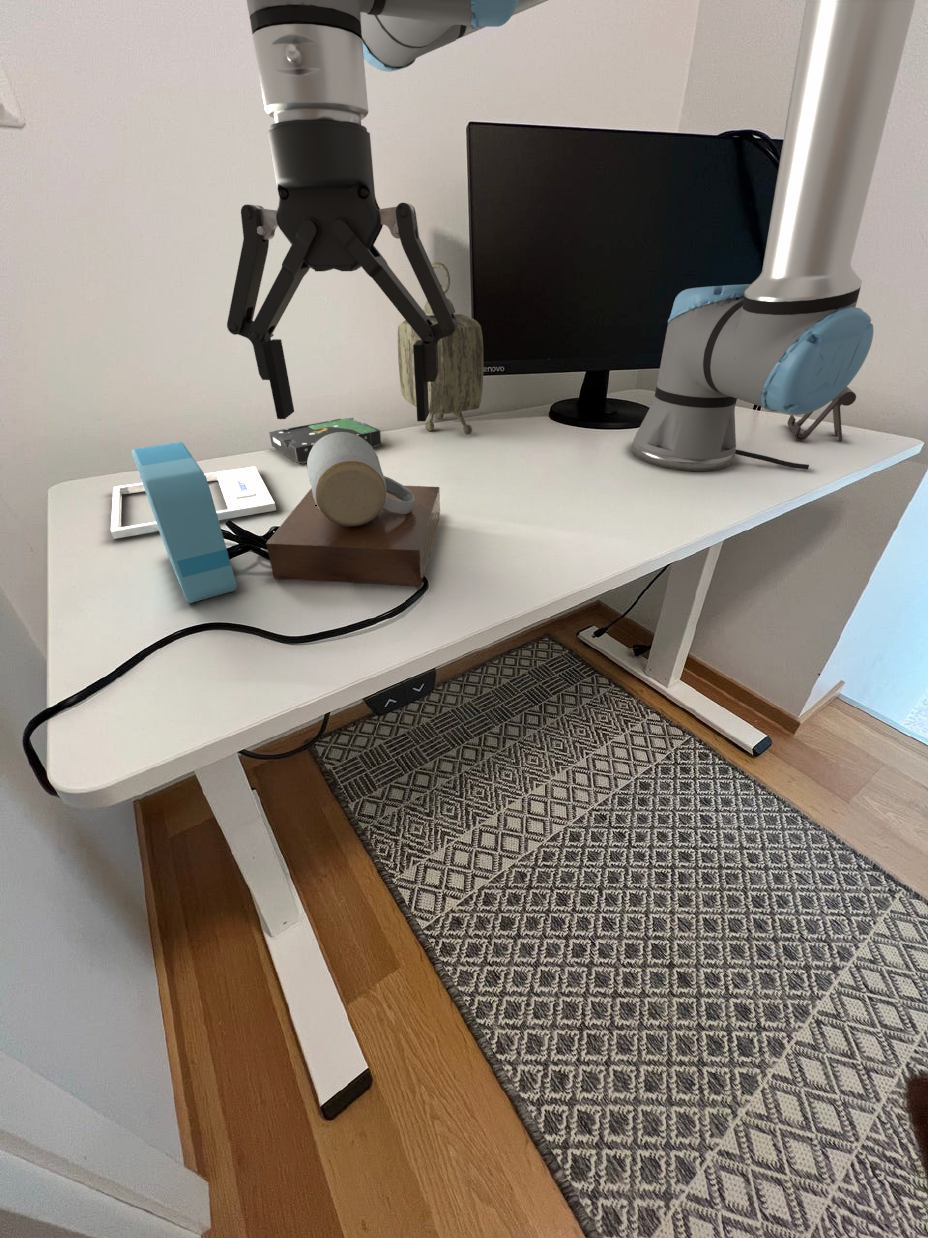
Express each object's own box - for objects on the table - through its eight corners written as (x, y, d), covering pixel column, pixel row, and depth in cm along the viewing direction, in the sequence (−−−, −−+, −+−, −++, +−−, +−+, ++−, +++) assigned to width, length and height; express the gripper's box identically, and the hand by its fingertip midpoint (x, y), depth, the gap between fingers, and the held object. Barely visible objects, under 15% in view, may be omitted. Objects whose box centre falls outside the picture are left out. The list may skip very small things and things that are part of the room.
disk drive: (299, 466, 82) (383, 446, 89) (295, 448, 80) (381, 428, 87) (271, 449, 88) (351, 431, 96) (267, 431, 86) (349, 414, 94)
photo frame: (274, 501, 67) (110, 529, 61) (276, 510, 68) (113, 538, 61) (254, 465, 78) (112, 485, 71) (256, 472, 79) (116, 493, 72)
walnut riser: (440, 517, 67) (439, 486, 64) (421, 586, 54) (419, 550, 51) (320, 512, 68) (316, 482, 65) (273, 578, 55) (265, 543, 52)
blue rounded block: (240, 595, 52) (206, 474, 45) (190, 610, 50) (146, 485, 43) (212, 546, 60) (180, 437, 53) (168, 556, 58) (128, 445, 51)
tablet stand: (785, 426, 100) (802, 377, 95) (833, 430, 98) (852, 381, 93) (793, 440, 93) (811, 388, 88) (844, 445, 91) (866, 392, 86)
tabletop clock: (482, 436, 94) (486, 263, 79) (435, 444, 90) (431, 265, 76) (442, 416, 104) (440, 260, 90) (399, 422, 100) (389, 260, 86)
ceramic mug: (319, 535, 54) (308, 459, 49) (312, 503, 60) (302, 432, 56) (423, 523, 56) (421, 450, 52) (406, 494, 63) (403, 426, 58)
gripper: (129, 118, 38) (212, 425, 51) (482, 109, 36) (479, 430, 49) (183, 133, 44) (245, 404, 57) (488, 126, 43) (484, 407, 55)
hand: (354, 416), depth 53 cm, fingers open, 13 cm apart
